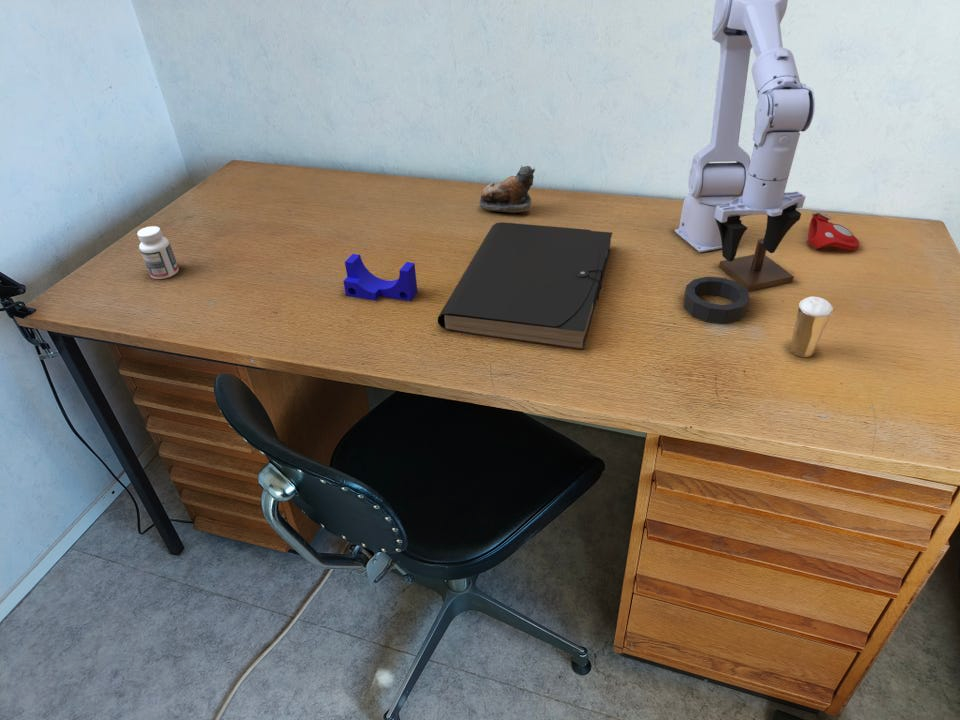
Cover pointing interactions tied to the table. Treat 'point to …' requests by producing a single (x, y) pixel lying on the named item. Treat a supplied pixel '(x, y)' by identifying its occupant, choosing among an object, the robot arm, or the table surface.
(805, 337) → the milkshake
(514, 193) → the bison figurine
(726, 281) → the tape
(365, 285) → the blue cradle bracket
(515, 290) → the dark grey book
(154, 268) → the pill bottle
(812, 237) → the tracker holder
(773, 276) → the brown peg stand
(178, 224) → the table surface
